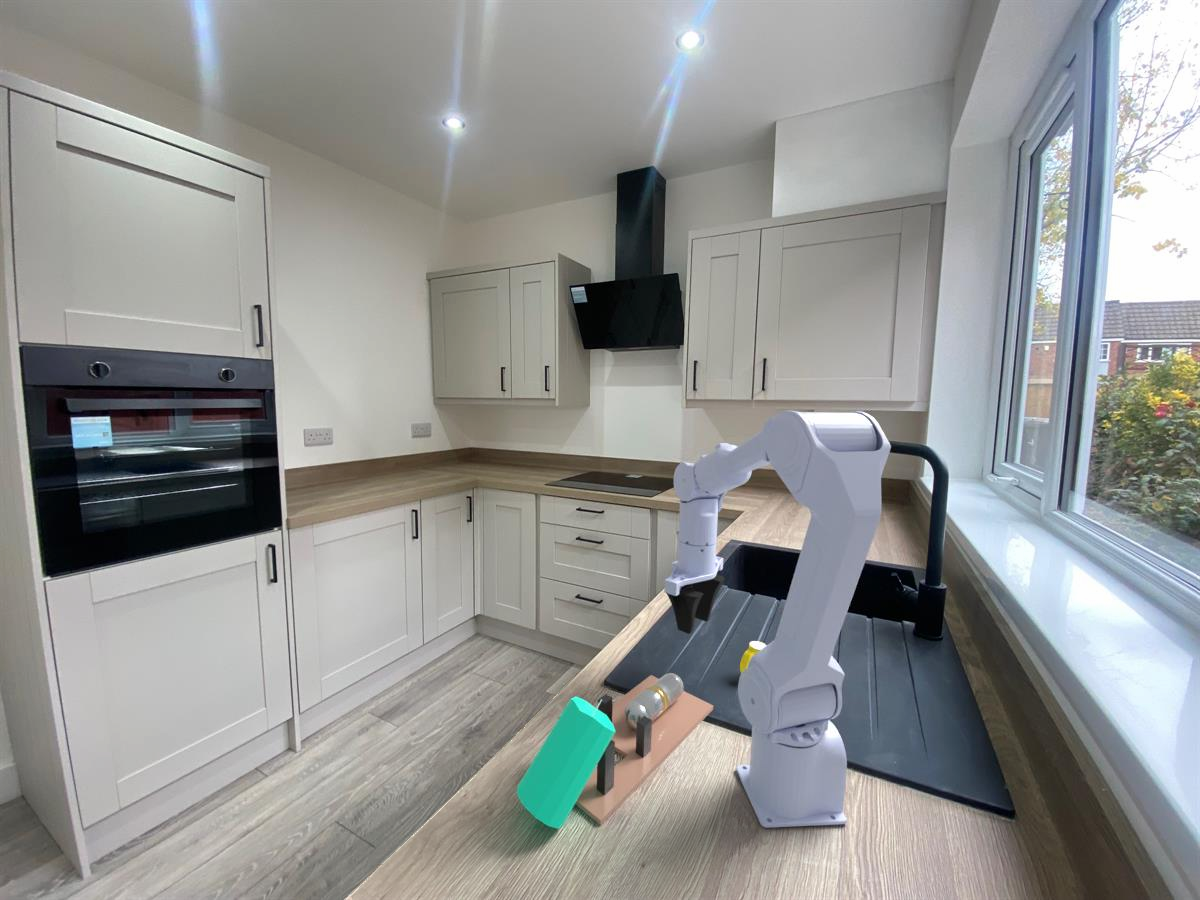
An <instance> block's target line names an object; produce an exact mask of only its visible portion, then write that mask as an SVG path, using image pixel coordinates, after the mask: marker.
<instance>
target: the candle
mask: <svg viewBox="0 0 1200 900" xmlns="http://www.w3.org/2000/svg"><path fill="white" fill-rule="evenodd" d="M601 701H602V699H601V700H600V702H599V704H598V703H597V706H596V707H595V706H594V705H592V704H591V703H589V702H588V701H587V700H585V699H583V698H580V697H578V696H574V697H572V698H570V699H569V701H568V702H567V704H566V705H565V707H564V708H563V710H562V712H561V714H560V715H559V719H558V718H557V721H555V724H554V726H553V728H552V729H550V732H549V734H548V735H547V737H546V738H545V740H544V742H543V744H542V745H541V747H540V749H539V750H538V752H537V754H536V755H535V757H534V758H533V760H532V761H531V763H530V765H529V766H528V768H527V771H526V772H525V774H524V775H523V777H522V778H521V780H520V782H519V784H518V785H517V787H516V795H517V797H518V798H519V800H520V802H521V804H522V805H523V807H524V808H525V809H526V810H527V811H528V812H530V814H531V815H532V816H533V817H534V818H535V819H537V820H538V821H540V822H541V823H543V824H544V825H546V826H548V827H551V828H554V829H556V830H557V829H560V828H561V827H563V826H564V824H565V822H567V819H568V817H569V816H570V813H571V812H572V811H573V809H574V806H576V805H575V803H576V801H577V799H578V798H579V796H580V794H581V792H582V791H583V789H584V787H585V785H586V783H587V782H588V780H589V778H590V776H591V775H592V773H593V771H594V769H595V767H596V766H597V764H598V762H599V760H600V759H601V757H602V755H603V753H604V751H605V750H606V748H607V746H608V744H609V743H610V741H611V739H612V737H613V735H614V734H615V729H614V726H613V724H612V722H611V721H610V719H609V718H608V716H607V715H606V714H604V713H602V712H601V711H599V710H598V707H599V705H600V703H601Z"/></svg>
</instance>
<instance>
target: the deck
mask: <svg viewBox="0 0 1200 900" xmlns="http://www.w3.org/2000/svg"><path fill="white" fill-rule="evenodd" d="M659 679H660V678H659V677H656V676H654V675H652V674H651V675H649V676H648V677H646V678H645V679H644V680H642V681H641V682H640V683H639V684H637V685H636V686H635V687H633V688H632V689H631V690H629V691H628V692H627V693H626V694H624V695H623V696H622V697H620V698H619V699H617V700H616V701H615V702H613V708H612V724H613V726H614V729H615V734H614V735H613V737H612V739H611V740H613V741H614V742H615V752H616V753H618V754H619V755H620V756H622V757H623V758H622V759H621V760H620V761H619V762H618V763H617V764H615V765H614V787H613V788H612V789H611V790H610V791H609V792H608V793H607V794H606V795H605V796H604V795H603V794H602V793H600V792H599V791H598V790H597V766H596V767H595V769H594V771H593V773H592V775H591V776H590V778H589V780H588V782H587V783H586V785H585V787H584V789H583V791H582V792H581V794H580V796H579V798H578V799H577V801H576V803H575V805H574V806H577V808H579V809H580V810H581V811H582V812H583V813H585V814H586V815H587V816H588V817H589V818H591V819H592V820H593V821H595V822H596V823H597V824H598V825H599V826H602V825H603V824H604V823H605V822H606V821H607V820H608V819H609V818H610V817H611V816H612V815H613V814H614V813H615V812H616V811H617V810H618V808H620V806H621V805H622V804H624V802H625V801H626V800H627V799H628V798H629V797H630V796H631V795H632V794H633V793H634V792H635V791H636V790H637V789H638V788H639V786H641V785H642V784H643V783H644V782H645V780H646V779H648V778H649V777H650V775H652V773H653V772H654V771H655V770H656V769H657V768H659V766H660V765H662V763H663V762H664V761H665V760H666V759H667V758H668V757H669V756H670V754H672V752H674V750H676V748H678V747H679V746H680V744H681V743H683V741H684V740H685V739H686V738H687V737H688V736H689V735H690V734H691V733H692V732H693V731H694V730H695V729H696V728H697V726H699V725H700V724H701V722H703V721H704V720H705V719H706V717H707V716H708V715H709V714H710V713H711V712H713V710H714V705H713V704H711V703H710V702H707V701H705V700H703V699H701V698H699V697H697V696H695V695H693V694H691V693H689V692H686V691H685V690H683V693H682V695H681V696H680V697H679V698H678V699H677V700H676V701H675V702H674V703H673V704H672V705H670V706H669V707H668V708H667V709H666V710H665V711H664V712H663V713H662V714H661V715H659V716H658V717H657V718H656V719H655V720H654V721H653V722H652V735H651V751H650V752H649V753H648V754H647V755H646V756H645V757H644V758H643V757H641V756H639V755H638V754H636V730H634V729H632V728H630V727H629V726H628V724H627V723H626V721H625V717H624V711H625V708H626V706H627V705H628V703H629V702H631V701H632V700H633V699H634V698H636V697H637V696H638V695H640V694H641V693H642V692H643V691H644V690H645V689H647V688H648V687H649V686H651V685H652V684H654V683H655V682H656V681H657V680H659Z"/></svg>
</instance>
